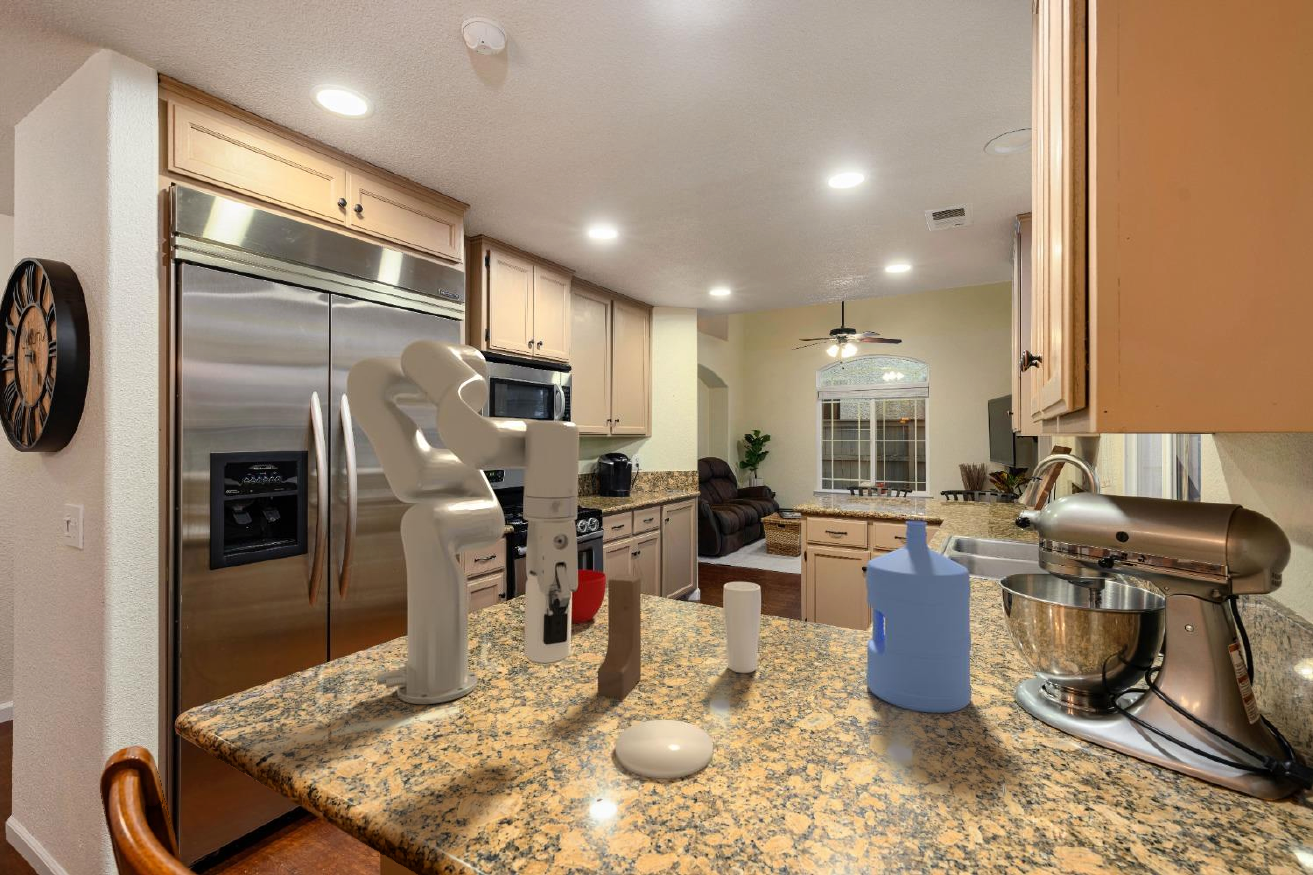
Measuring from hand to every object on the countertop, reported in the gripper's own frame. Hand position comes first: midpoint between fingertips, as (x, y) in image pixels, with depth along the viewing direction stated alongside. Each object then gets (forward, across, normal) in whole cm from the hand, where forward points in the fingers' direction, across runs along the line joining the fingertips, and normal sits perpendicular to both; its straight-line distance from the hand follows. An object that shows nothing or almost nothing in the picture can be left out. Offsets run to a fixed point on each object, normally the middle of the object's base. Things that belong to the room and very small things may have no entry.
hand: (547, 633), depth 83 cm
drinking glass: (+14, +6, -39) cm, 41 cm away
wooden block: (+14, +9, -16) cm, 23 cm away
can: (+3, 0, 0) cm, 3 cm away
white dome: (+14, -12, -13) cm, 22 cm away
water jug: (+13, -16, -58) cm, 61 cm away
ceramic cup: (+16, +47, -22) cm, 54 cm away
